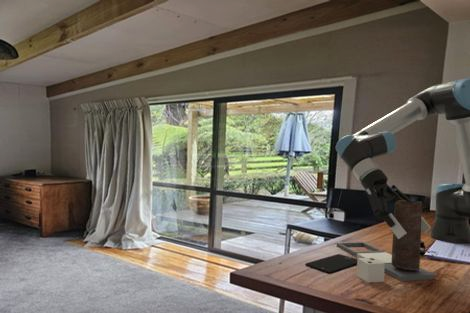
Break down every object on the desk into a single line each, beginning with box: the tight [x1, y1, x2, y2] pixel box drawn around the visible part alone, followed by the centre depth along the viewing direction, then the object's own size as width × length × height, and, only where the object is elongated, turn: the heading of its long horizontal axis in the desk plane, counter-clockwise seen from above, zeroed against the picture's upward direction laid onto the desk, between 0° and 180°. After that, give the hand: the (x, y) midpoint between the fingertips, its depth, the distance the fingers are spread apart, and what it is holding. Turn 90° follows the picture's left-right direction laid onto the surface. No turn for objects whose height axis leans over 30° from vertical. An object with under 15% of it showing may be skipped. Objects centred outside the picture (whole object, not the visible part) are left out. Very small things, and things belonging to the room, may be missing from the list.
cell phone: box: [304, 253, 357, 275], centre depth 107 cm, size 9×18×1 cm, turn 130°
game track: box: [336, 241, 436, 282], centre depth 112 cm, size 11×34×1 cm, turn 13°
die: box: [356, 257, 385, 283], centre depth 96 cm, size 5×5×5 cm
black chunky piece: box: [420, 240, 427, 256], centre depth 123 cm, size 12×7×5 cm, turn 70°
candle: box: [391, 200, 423, 271], centre depth 100 cm, size 8×7×20 cm
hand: (415, 233), depth 98 cm, fingers open, 13 cm apart
